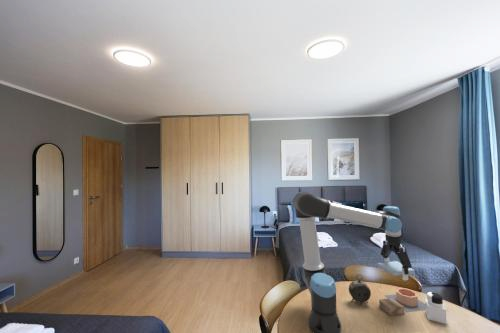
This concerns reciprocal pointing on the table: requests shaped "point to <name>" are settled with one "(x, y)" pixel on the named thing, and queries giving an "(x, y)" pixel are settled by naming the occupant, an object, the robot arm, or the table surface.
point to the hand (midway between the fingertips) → (396, 274)
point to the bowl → (407, 297)
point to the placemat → (407, 309)
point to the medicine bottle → (435, 307)
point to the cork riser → (391, 306)
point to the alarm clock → (359, 291)
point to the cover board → (394, 268)
